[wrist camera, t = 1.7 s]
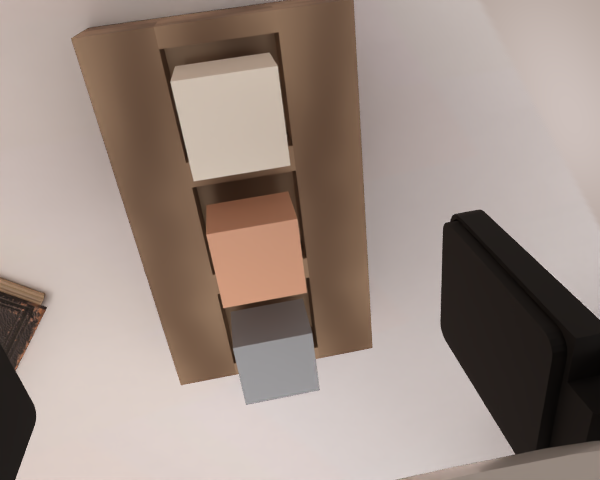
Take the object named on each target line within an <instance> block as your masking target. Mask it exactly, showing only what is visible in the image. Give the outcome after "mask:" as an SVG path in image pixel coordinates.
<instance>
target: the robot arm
mask: <svg viewBox="0 0 600 480" xmlns="http://www.w3.org/2000/svg"><path fill="white" fill-rule="evenodd" d="M441 330H442V333H443V336H444V338H445V340H446V342H447V344H448V345H449V347H450V349H451V350H452V352H453V353H454V355H455V357H456V358H457V360H458V362H459V363H460V365H461V366H462V368H463V370H464V371H465V373H466V375H467V376H468V378H469V379H470V381H471V383H472V384H473V386H474V388H475V389H476V391H477V392H478V394H479V396H480V397H481V399H482V400H483V402H484V404H485V405H486V407H487V409H488V410H489V412H490V413H491V415H492V417H493V418H494V420H495V422H496V423H497V425H498V426H499V428H500V430H501V431H502V433H503V435H504V436H505V438H506V439H507V441H508V443H509V444H510V446H511V448H512V449H513V451H514V452H515V454H516V455H511V456H506V457H501V458H496V459H491V460H486V461H481V462H476V463H471V464H466V465H461V466H456V467H451V468H447V469H442V470H438V471H433V472H429V473H424V474H420V475H415V476H411V477H406V478H401V479H397V480H600V320H599V319H598V318H597V317H596V316H595V315H594V314H593V313H592V312H591V311H590V310H588V309H587V308H586V307H585V306H584V305H583V304H582V303H581V302H580V301H579V300H578V299H577V298H576V297H575V296H574V295H572V294H571V293H570V292H569V291H568V290H567V289H566V288H565V287H564V286H563V285H562V284H561V283H560V282H559V281H558V280H556V279H555V278H554V277H553V276H552V275H551V274H550V273H549V272H548V271H547V270H546V269H545V268H544V267H543V266H542V265H540V264H539V263H538V262H537V261H536V260H535V259H534V258H533V257H532V256H531V255H530V254H529V253H528V252H527V251H526V250H524V249H523V248H522V247H521V246H520V245H519V244H518V243H517V242H516V241H515V240H514V239H513V238H512V237H511V236H510V235H508V234H507V233H506V232H505V231H504V230H503V229H502V228H501V227H500V226H499V225H498V224H497V223H496V222H495V221H494V220H493V219H491V218H490V217H489V216H488V215H487V214H486V213H485V212H484V211H482V210H475V211H469V212H464V213H458V214H454V215H453V216H452V218H451V221H450V222H447V223H445V224H444V227H443V249H442V287H441ZM35 422H36V410H35V407H34V404H33V402H32V400H31V399H30V397H29V395H28V393H27V391H26V389H25V388H24V386H23V384H22V382H21V380H20V378H19V377H18V375H17V373H16V371H15V369H14V367H13V366H12V364H11V362H10V360H9V358H8V357H7V355H6V353H5V351H4V349H3V347H2V346H1V344H0V480H15V479H16V476H17V473H18V470H19V467H20V465H21V462H22V459H23V456H24V454H25V451H26V448H27V445H28V442H29V440H30V437H31V434H32V431H33V428H34V426H35Z"/></svg>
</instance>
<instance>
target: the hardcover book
mask: <svg viewBox="0 0 600 480" xmlns="http://www.w3.org/2000/svg"><path fill="white" fill-rule="evenodd" d="M44 295H45V294H43V293H41V292H38V291H35V290H32V289H30V288H27V287H24V286H21V285H18V284H16V283H13V282H10V281H7V280H4V279H2V278H0V344H1V346H2V347H3V349H4V351H5V353H6V355H7V357H8V358H9V360H10V362H11V364H12V366H13V367H14V369H15V371H16V369H17V367H18V365H19V363H20V361H21V359H22V357H23V355H24V353H25V351H26V348H27V346H28V344H29V342H30V340H31V338H32V336H33V334H34V332H35V330H36V328H37V326H38V324H39V322H40V320H41V318H42V316H43V314H44V312H45V310H46V308H47V307H44V306H41V304H42V302H43V300H44Z"/></svg>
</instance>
